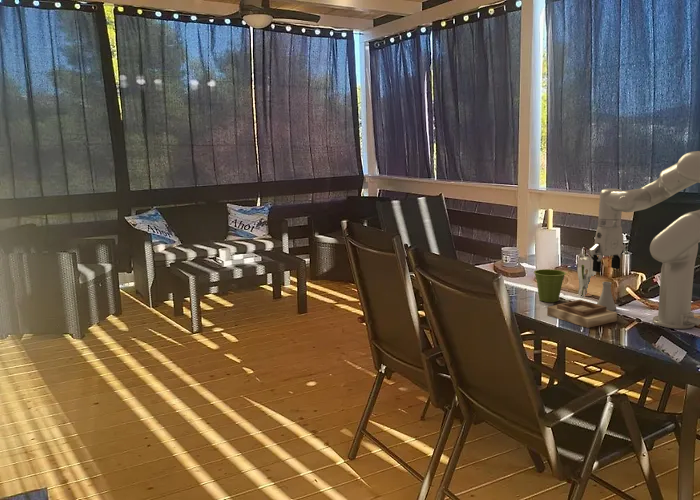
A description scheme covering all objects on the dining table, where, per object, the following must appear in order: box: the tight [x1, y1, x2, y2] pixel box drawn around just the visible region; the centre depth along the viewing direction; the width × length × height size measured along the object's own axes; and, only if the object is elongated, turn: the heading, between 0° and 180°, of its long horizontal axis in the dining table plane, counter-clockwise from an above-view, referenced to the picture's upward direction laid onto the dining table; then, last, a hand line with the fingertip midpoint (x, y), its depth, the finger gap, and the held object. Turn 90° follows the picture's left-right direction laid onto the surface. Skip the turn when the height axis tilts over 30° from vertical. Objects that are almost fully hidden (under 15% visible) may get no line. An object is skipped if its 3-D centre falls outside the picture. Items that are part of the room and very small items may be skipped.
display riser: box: [546, 299, 618, 329], centre depth 214 cm, size 18×14×4 cm
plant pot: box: [533, 268, 567, 303], centre depth 237 cm, size 12×12×11 cm
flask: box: [596, 281, 617, 312], centre depth 223 cm, size 7×7×10 cm
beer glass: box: [577, 256, 597, 297], centre depth 243 cm, size 7×7×15 cm
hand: (606, 270), depth 222 cm, fingers open, 9 cm apart
